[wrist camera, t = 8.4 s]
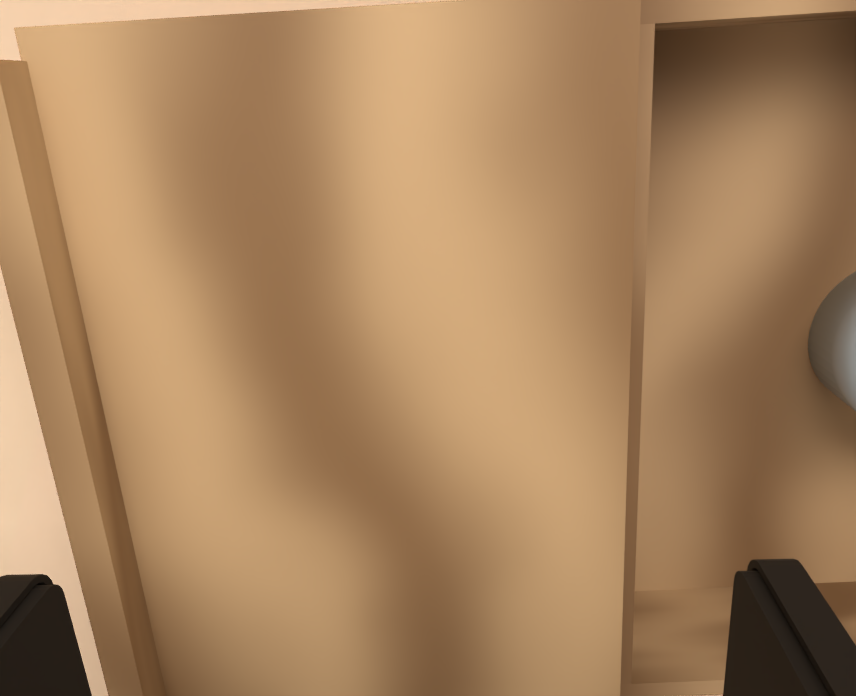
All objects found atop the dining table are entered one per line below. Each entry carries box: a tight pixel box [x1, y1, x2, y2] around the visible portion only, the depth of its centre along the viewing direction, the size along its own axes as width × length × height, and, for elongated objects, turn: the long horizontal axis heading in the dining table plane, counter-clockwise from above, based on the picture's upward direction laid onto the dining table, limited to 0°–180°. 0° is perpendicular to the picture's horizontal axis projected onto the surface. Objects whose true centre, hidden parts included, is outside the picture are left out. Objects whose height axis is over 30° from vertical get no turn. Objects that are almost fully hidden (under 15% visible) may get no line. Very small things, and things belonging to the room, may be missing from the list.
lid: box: [0, 0, 641, 696], centre depth 17 cm, size 13×18×2 cm
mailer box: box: [620, 0, 856, 696], centre depth 20 cm, size 12×18×4 cm, turn 3°
